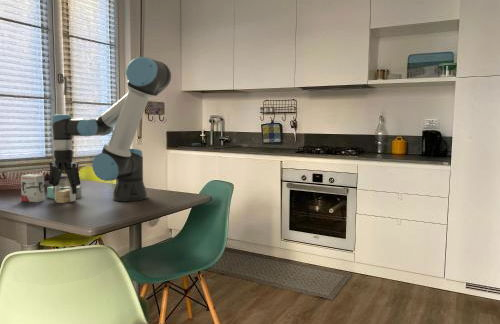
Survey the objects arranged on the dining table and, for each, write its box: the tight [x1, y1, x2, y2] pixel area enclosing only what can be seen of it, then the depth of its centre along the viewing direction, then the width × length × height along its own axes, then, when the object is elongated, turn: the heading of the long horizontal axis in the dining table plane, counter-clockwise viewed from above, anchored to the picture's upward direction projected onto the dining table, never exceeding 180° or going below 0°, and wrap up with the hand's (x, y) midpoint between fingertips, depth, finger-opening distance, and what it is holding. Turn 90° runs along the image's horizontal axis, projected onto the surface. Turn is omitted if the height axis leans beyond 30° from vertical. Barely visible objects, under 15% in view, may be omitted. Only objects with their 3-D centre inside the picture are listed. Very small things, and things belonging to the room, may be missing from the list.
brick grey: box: [63, 185, 82, 199], centre depth 188 cm, size 7×4×5 cm, turn 98°
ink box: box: [20, 173, 46, 203], centre depth 178 cm, size 9×5×12 cm, turn 76°
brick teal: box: [46, 185, 64, 200], centre depth 187 cm, size 7×4×5 cm, turn 53°
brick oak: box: [55, 189, 70, 204], centre depth 178 cm, size 7×4×5 cm, turn 163°
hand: (65, 200), depth 179 cm, fingers open, 7 cm apart
